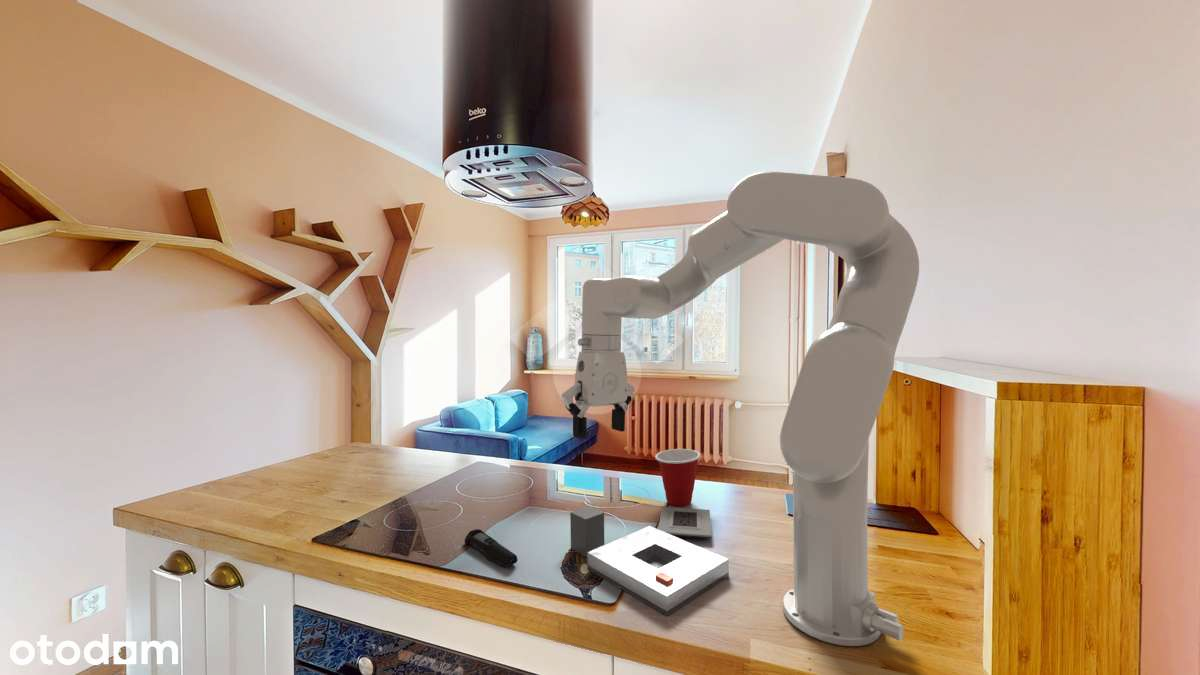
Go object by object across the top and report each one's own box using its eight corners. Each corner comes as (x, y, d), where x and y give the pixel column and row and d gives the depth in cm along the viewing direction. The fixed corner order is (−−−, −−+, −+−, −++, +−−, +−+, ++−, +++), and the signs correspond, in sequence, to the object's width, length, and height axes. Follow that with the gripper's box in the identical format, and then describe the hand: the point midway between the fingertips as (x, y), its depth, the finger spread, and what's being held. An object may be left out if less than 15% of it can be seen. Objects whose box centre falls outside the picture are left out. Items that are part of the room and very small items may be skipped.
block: (604, 548, 88) (604, 512, 87) (586, 556, 84) (585, 519, 84) (589, 540, 91) (588, 505, 91) (570, 548, 88) (570, 512, 88)
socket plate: (728, 576, 77) (728, 555, 77) (666, 616, 66) (666, 592, 66) (649, 540, 90) (649, 522, 90) (587, 569, 80) (587, 548, 80)
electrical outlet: (712, 546, 89) (711, 534, 89) (657, 542, 91) (657, 530, 91) (709, 519, 102) (709, 508, 102) (662, 516, 104) (661, 505, 104)
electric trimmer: (504, 576, 79) (504, 558, 79) (462, 545, 90) (462, 529, 90) (522, 568, 82) (522, 551, 81) (480, 539, 93) (479, 523, 93)
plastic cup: (651, 495, 115) (650, 448, 115) (692, 493, 116) (692, 446, 116) (661, 512, 104) (660, 460, 104) (707, 510, 106) (706, 458, 106)
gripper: (577, 346, 78) (575, 445, 79) (647, 344, 89) (645, 431, 90) (552, 344, 84) (550, 436, 84) (620, 342, 95) (618, 424, 96)
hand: (599, 433), depth 87 cm, fingers open, 9 cm apart
